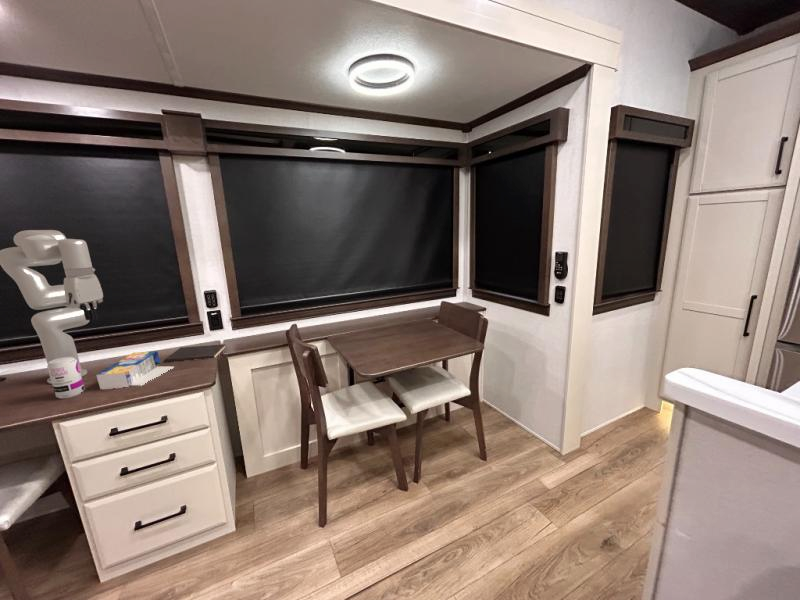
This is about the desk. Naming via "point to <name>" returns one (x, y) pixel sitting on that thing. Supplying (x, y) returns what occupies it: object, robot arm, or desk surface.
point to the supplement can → (65, 377)
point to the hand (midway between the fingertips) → (91, 319)
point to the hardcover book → (195, 353)
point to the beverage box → (128, 370)
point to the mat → (151, 375)
